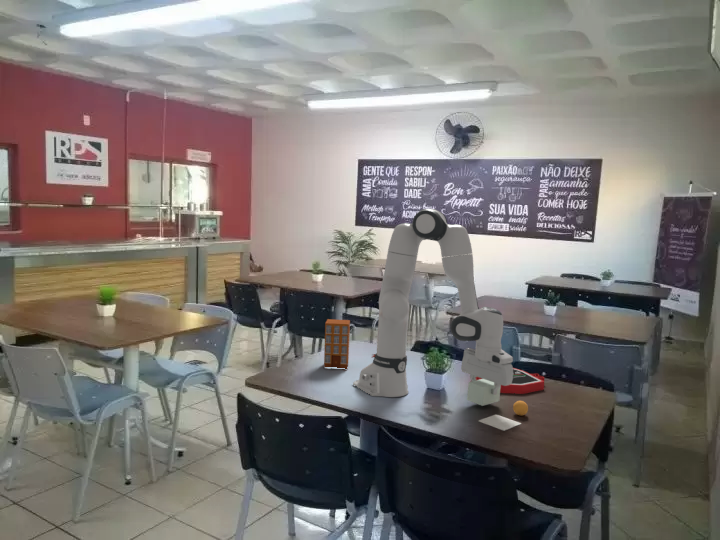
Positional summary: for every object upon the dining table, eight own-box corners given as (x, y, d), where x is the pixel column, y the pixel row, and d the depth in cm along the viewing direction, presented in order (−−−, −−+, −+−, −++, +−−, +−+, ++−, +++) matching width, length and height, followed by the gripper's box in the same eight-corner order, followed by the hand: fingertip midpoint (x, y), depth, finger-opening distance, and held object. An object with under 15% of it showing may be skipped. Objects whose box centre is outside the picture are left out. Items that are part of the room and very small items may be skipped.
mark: (478, 421, 186) (478, 420, 186) (495, 414, 193) (495, 414, 193) (503, 430, 179) (504, 430, 179) (521, 423, 185) (521, 423, 185)
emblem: (516, 363, 249) (557, 383, 221) (515, 371, 250) (556, 393, 221) (454, 365, 241) (487, 387, 213) (453, 374, 242) (487, 396, 213)
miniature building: (323, 369, 238) (325, 323, 236) (325, 363, 248) (327, 319, 246) (346, 370, 238) (348, 324, 236) (348, 364, 247) (350, 320, 245)
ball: (509, 414, 194) (510, 400, 193) (517, 411, 197) (518, 397, 197) (522, 418, 190) (523, 404, 189) (530, 415, 193) (531, 401, 193)
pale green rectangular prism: (466, 399, 201) (468, 382, 200) (483, 395, 207) (485, 378, 206) (482, 405, 196) (484, 387, 195) (499, 401, 202) (500, 383, 201)
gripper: (459, 347, 205) (456, 383, 207) (506, 361, 190) (502, 400, 191) (470, 345, 209) (466, 381, 211) (517, 358, 194) (513, 397, 195)
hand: (484, 390), depth 201 cm, fingers closed on pale green rectangular prism, 7 cm apart
